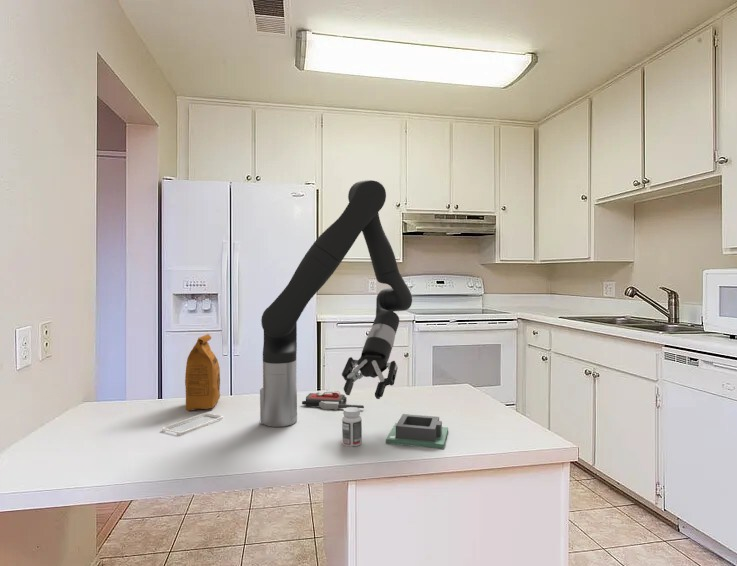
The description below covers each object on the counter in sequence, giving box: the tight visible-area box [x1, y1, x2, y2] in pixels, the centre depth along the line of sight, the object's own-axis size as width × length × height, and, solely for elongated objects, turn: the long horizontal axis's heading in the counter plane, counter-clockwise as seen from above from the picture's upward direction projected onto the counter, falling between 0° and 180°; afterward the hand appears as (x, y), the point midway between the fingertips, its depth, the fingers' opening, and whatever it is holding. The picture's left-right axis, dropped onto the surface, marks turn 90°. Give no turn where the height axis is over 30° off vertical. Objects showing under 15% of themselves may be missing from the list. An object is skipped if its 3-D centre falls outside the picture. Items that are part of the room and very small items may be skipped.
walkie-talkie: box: [301, 390, 365, 411], centre depth 141 cm, size 9×4×20 cm
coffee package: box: [184, 333, 221, 412], centre depth 141 cm, size 10×12×22 cm
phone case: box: [161, 412, 224, 436], centre depth 124 cm, size 7×1×15 cm
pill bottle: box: [341, 407, 363, 447], centre depth 110 cm, size 5×5×8 cm
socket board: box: [385, 413, 449, 449], centre depth 114 cm, size 14×12×4 cm
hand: (361, 395), depth 115 cm, fingers open, 8 cm apart
